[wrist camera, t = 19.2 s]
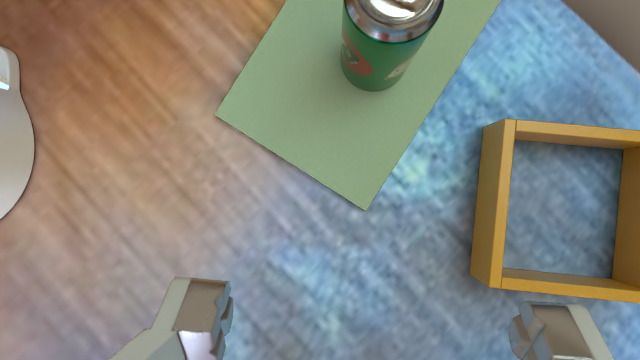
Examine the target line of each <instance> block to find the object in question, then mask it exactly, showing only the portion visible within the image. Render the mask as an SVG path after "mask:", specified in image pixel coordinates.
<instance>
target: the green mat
mask: <svg viewBox="0 0 640 360" xmlns="http://www.w3.org/2000/svg"><path fill="white" fill-rule="evenodd" d="M500 1H501V0H444V6H443V9H442V12H441V14H440V16H439V18H438V20H437V22H436V23H435V25H434V27H433V28H432V30H431V31H430V33H429V35H428V36H427V38H426V39H425V41H424V42H423V44H422V46H421V47H420V49H419V50H418V52H417V54H416V55H415V57H414V58H413V60H412V61H411V63H410V65H409V66H408V68H407V69H406V71H405V73H404V74H403V76H402V77H401V79H400V80H399V81H398V82H397V83H396V84H395V85H393V86H392V87H390V88H388V89H386V90H383V91H378V92H370V91H365V90H361V89H359V88H357V87H356V86H354V85H353V84H352V83H351V82H350V81H348V79H347V78H346V77H345V75H344V73H343V70H342V67H341V62H340V53H341V32H342V12H343V0H287V1H286V2H285V4H284V5H283V7H282V8H281V10H280V12H279V13H278V15H277V16H276V18H275V19H274V21H273V23H272V24H271V26H270V27H269V29H268V30H267V32H266V34H265V35H264V37H263V38H262V40H261V41H260V43H259V45H258V46H257V48H256V49H255V51H254V52H253V54H252V56H251V57H250V59H249V60H248V62H247V63H246V65H245V67H244V68H243V70H242V71H241V73H240V74H239V76H238V78H237V79H236V81H235V82H234V84H233V85H232V87H231V89H230V90H229V92H228V93H227V95H226V96H225V98H224V100H223V101H222V103H221V104H220V106H219V107H218V109H217V111H216V112H215V115H216V116H218V117H219V118H221V119H222V120H224V121H226V122H227V123H229V124H230V125H232V126H233V127H235V128H236V129H238V130H240V131H241V132H243V133H244V134H246V135H247V136H249V137H250V138H252V139H254V140H255V141H257V142H258V143H260V144H261V145H263V146H265V147H266V148H268V149H269V150H271V151H272V152H274V153H275V154H277V155H279V156H280V157H282V158H283V159H285V160H286V161H288V162H290V163H291V164H293V165H294V166H296V167H297V168H299V169H300V170H302V171H304V172H305V173H307V174H308V175H310V176H311V177H313V178H314V179H316V180H318V181H319V182H321V183H322V184H324V185H325V186H327V187H329V188H330V189H332V190H333V191H335V192H336V193H338V194H339V195H341V196H343V197H344V198H346V199H347V200H349V201H350V202H352V203H354V204H355V205H357V206H358V207H360V208H361V209H363V210H364V211H366V210H367V209H368V207H369V206H370V204H371V202H372V201H373V199H374V198H375V196H376V195H377V193H378V192H379V190H380V188H381V187H382V185H383V184H384V182H385V181H386V179H387V178H388V176H389V174H390V173H391V171H392V170H393V168H394V167H395V165H396V164H397V162H398V160H399V159H400V157H401V156H402V154H403V153H404V151H405V150H406V148H407V146H408V145H409V143H410V142H411V140H412V139H413V137H414V135H415V134H416V132H417V131H418V129H419V128H420V126H421V125H422V123H423V121H424V120H425V118H426V117H427V115H428V114H429V112H430V111H431V109H432V107H433V106H434V104H435V103H436V101H437V100H438V98H439V97H440V95H441V93H442V92H443V90H444V89H445V87H446V86H447V84H448V83H449V81H450V79H451V78H452V76H453V75H454V73H455V72H456V70H457V68H458V67H459V65H460V64H461V62H462V61H463V59H464V58H465V56H466V54H467V53H468V51H469V50H470V48H471V47H472V45H473V44H474V42H475V40H476V39H477V37H478V36H479V34H480V33H481V31H482V30H483V28H484V26H485V25H486V23H487V22H488V20H489V19H490V17H491V15H492V14H493V12H494V11H495V9H496V8H497V6H498V5H499V3H500Z"/></svg>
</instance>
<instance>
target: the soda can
mask: <svg viewBox="0 0 640 360" xmlns="http://www.w3.org/2000/svg"><path fill="white" fill-rule="evenodd" d="M443 6H444V0H343V12H342V32H341V53H340V62H341V67H342V70H343V73H344V75H345V77H346V78H347V79H348V81H350V82H351V83H352V84H353V85H354V86H356V87H357V88H359V89H361V90H365V91H370V92H378V91H383V90H386V89H388V88H390V87H392V86H393V85H395V84H396V83H397V82H398V81H399V80H400V79H401V77H402V76H403V74H404V73H405V71H406V69H407V68H408V66H409V65H410V63H411V61H412V60H413V58H414V57H415V55H416V54H417V52H418V50H419V49H420V47H421V46H422V44H423V42H424V41H425V39H426V38H427V36H428V35H429V33H430V31H431V30H432V28H433V27H434V25H435V23H436V22H437V20H438V18H439V16H440V14H441V12H442V9H443Z"/></svg>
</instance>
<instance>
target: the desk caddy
mask: <svg viewBox="0 0 640 360" xmlns="http://www.w3.org/2000/svg"><path fill="white" fill-rule="evenodd" d="M514 140H525V141H536V142H547V143H558V144H569V145H580V146H591V147H602V148H613V149H624V151H623V162H622V173H621V184H620V195H619V206H618V217H617V228H616V239H615V250H614V261H613V271H612V279H608V278H598V277H588V276H578V275H569V274H559V273H549V272H539V271H530V270H520V269H510V268H502V266H503V255H504V244H505V233H506V223H507V212H508V201H509V191H510V180H511V169H512V158H513V148H514ZM470 275H471V276H473V277H475V278H476V279H478V280H479V281H481V282H482V283H484V284H485V285H487V286H488V287H490V288H501V289H509V290H518V291H528V292H537V293H547V294H556V295H566V296H576V297H585V298H595V299H604V300H614V301H624V302H633V303H640V130H629V129H618V128H607V127H596V126H585V125H574V124H563V123H551V122H540V121H529V120H518V119H517V120H515V119H506V118H505V119H503V120H500V121H497V122H495V123H492V124H490V125H487V126H484V127H483V137H482V148H481V158H480V169H479V180H478V190H477V201H476V212H475V222H474V233H473V244H472V254H471V265H470Z"/></svg>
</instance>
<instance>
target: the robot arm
mask: <svg viewBox="0 0 640 360" xmlns="http://www.w3.org/2000/svg"><path fill="white" fill-rule="evenodd" d="M19 85H20V72H19V62H18V59H17V56H16V55H15V54H14V52H12V51H11V50H9V49H7V48H4V47H2V46H0V219H1V218H2V217H3V216H4V215H5V214H7V213H8V212H9V210H10V209H11V208H12V207H13V206H14V205H15V203H16V202H17V201H18V199H19V198H20V196H21V194H22V193H23V191H24V189H25V187H26V185H27V182H28V180H29V177H30V174H31V170H32V166H33V160H34V134H33V128H32V124H31V120H30V117H29V114H28V112H27V110H26V107H25V105H24V103H23V100H22V97H21V94H20V90H19ZM230 291H231V286H230V281H219V280H208V279H197V278H185V277H175V278H174V279H173V280H172V281H171V283H170V285H169V288H168V290H167V292H166V295H165V297H164V299H163V302H162V304H161V306H160V308H159V311H158V313H157V315H156V318H155V320H154V322H153V325H152V327H151V329H145V330H143V331H142V332H141V333H140V334H139V335H137V336H136V337H135V338H134V339H132V340H131V341H130V342H129V343H128V344H126V345H125V346H124V347H123V348H121V349H120V350H119V351H118V352H117V353H115V354H114V355H113V356H112V357H111V358H109V359H108V360H222V359H223V355H224V352H225V348H226V345H225V340H224V337H225V336H226V335H227V334H228V333H229V332H230V328H231V324H232V318H233V299H232V298H231V297H230V296H229V295H230ZM519 312H520V315H518V316H516V317H514V318H513V319H512V321H511V323H510V325H509V341H510V345H511V348H512V351H513V353H514V354H515V355H516V356H517V357H518V358H519V359H520V360H615V359H614V357H613V355H612V354H611V352H610V350H609V348H608V346H607V345H606V343H605V341H604V339H603V337H602V336H601V334H600V332H599V330H598V328H597V326H596V325H595V323H594V321H593V319H592V317H591V316H590V314H589V312H588V310H587V309H586V308H585V307H584V306H583V305H575V304H561V303H549V302H531V301H525V302H523V303H522V304H521V305H520V307H519Z"/></svg>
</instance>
